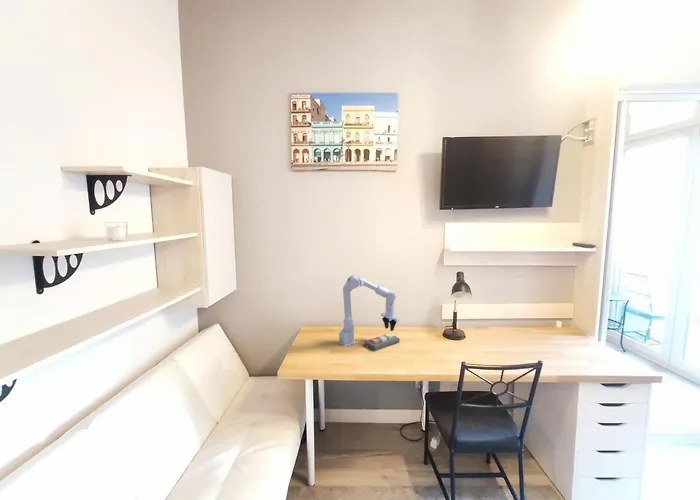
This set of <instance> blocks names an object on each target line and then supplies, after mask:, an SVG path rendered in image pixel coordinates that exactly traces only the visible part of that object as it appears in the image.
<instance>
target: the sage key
mask: <svg viewBox="0 0 700 500" xmlns="http://www.w3.org/2000/svg"><path fill="white" fill-rule="evenodd" d="M384 335H385V334H384ZM394 336H395V335H394V334H392V333H389V334H388V333H386V335H385V337H387V339H392V338H394Z"/></svg>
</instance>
